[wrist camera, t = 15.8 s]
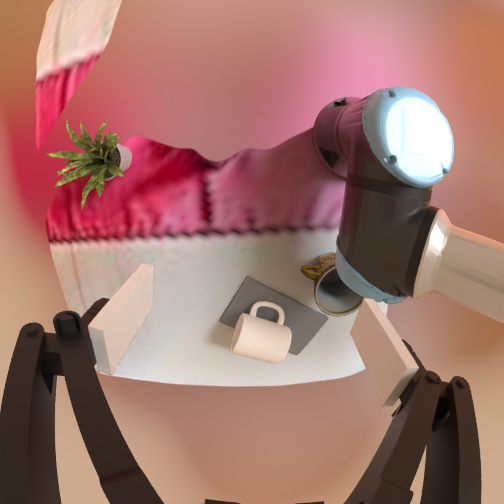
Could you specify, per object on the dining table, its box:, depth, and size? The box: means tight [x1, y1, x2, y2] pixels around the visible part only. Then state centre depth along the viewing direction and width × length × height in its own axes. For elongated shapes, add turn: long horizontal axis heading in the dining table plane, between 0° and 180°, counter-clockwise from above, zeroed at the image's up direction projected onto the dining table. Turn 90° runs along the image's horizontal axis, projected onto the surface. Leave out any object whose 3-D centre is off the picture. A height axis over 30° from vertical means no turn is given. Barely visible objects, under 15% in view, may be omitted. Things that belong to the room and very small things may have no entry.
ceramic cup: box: [301, 252, 365, 316], centre depth 48 cm, size 13×10×10 cm
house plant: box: [47, 119, 132, 209], centre depth 38 cm, size 14×14×16 cm
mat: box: [220, 277, 328, 355], centre depth 57 cm, size 20×12×1 cm, turn 60°
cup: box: [230, 301, 292, 364], centre depth 54 cm, size 8×12×10 cm
